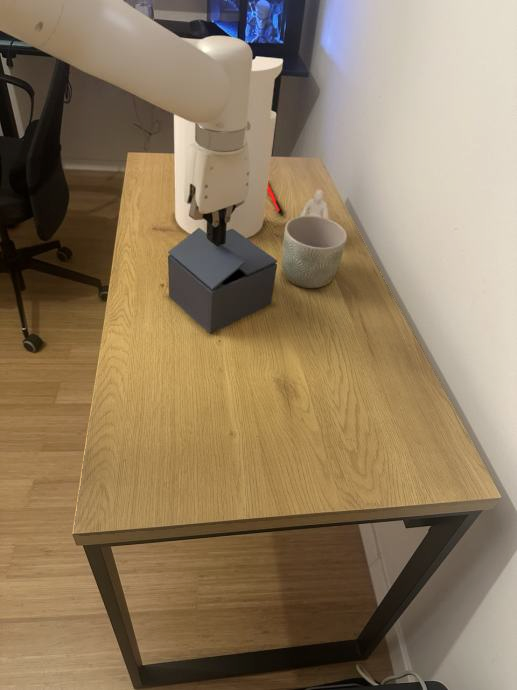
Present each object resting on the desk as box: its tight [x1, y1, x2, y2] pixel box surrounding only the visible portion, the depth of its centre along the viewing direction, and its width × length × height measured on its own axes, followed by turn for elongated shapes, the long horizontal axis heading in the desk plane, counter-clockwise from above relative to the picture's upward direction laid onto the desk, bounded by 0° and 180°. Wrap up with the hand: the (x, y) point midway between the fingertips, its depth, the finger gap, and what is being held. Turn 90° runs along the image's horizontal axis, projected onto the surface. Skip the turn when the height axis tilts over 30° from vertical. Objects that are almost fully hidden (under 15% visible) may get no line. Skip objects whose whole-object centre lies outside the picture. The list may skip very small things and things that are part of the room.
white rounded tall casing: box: [173, 55, 284, 239], centre depth 104 cm, size 35×11×21 cm
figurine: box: [299, 188, 329, 219], centre depth 111 cm, size 8×8×12 cm
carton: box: [167, 229, 278, 335], centre depth 94 cm, size 15×13×10 cm
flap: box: [167, 228, 245, 290], centre depth 87 cm, size 7×13×1 cm, turn 42°
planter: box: [281, 214, 348, 289], centre depth 102 cm, size 12×12×11 cm
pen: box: [267, 183, 283, 216], centre depth 129 cm, size 1×19×1 cm, turn 13°
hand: (215, 241), depth 87 cm, fingers closed
